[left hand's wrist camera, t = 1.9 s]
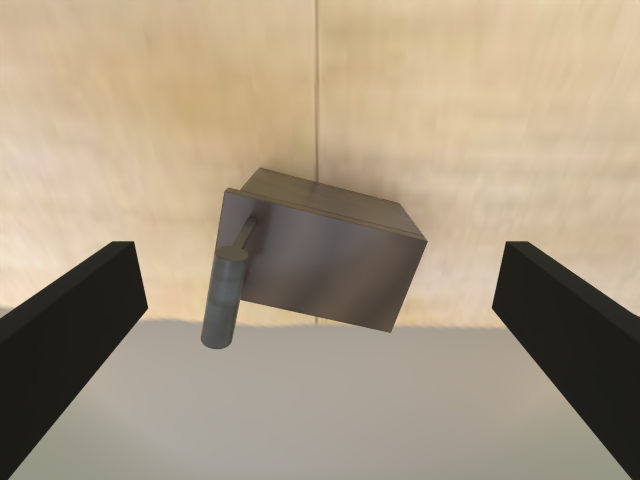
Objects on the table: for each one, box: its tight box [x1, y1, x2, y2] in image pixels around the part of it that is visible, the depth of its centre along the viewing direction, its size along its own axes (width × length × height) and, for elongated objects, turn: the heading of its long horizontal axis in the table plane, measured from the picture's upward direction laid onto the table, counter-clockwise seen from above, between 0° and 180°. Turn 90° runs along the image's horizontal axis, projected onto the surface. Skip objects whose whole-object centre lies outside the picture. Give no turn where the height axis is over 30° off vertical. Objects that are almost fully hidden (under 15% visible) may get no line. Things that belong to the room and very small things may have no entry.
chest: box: [240, 168, 423, 236], centre depth 35 cm, size 16×9×10 cm, turn 75°
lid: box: [201, 188, 428, 349], centre depth 26 cm, size 16×9×9 cm, turn 75°
